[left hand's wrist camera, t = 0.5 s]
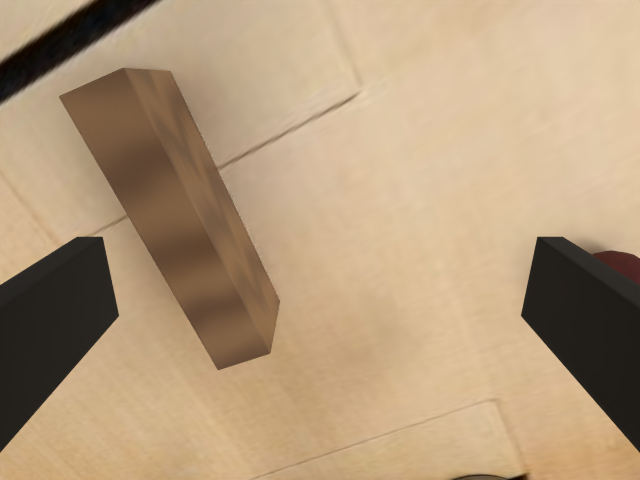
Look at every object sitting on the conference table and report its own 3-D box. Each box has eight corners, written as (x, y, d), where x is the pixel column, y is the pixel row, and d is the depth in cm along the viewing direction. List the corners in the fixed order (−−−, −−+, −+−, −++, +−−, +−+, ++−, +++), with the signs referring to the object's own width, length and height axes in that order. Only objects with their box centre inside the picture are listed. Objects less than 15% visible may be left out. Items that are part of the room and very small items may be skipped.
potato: (562, 319, 42) (607, 363, 35) (545, 256, 39) (590, 292, 32) (635, 293, 40) (696, 333, 34) (623, 227, 38) (686, 257, 31)
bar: (119, 93, 34) (58, 96, 26) (170, 71, 33) (123, 67, 25) (237, 315, 42) (217, 370, 34) (280, 301, 41) (270, 353, 33)
